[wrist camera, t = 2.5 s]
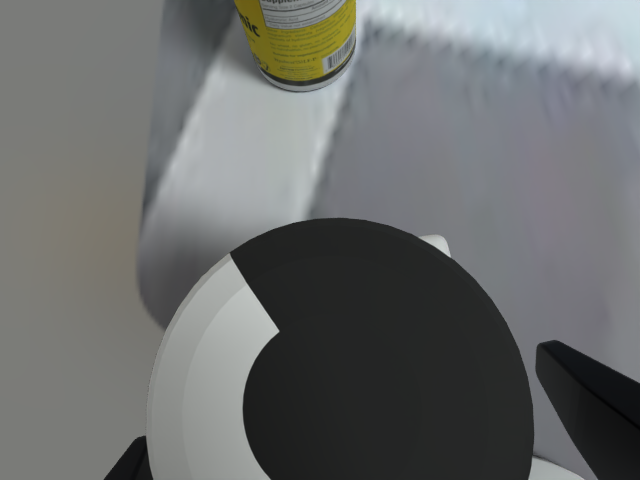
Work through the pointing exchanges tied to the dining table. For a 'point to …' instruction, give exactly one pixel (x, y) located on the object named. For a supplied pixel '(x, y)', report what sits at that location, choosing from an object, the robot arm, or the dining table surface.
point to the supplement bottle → (300, 40)
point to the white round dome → (550, 471)
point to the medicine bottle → (339, 365)
